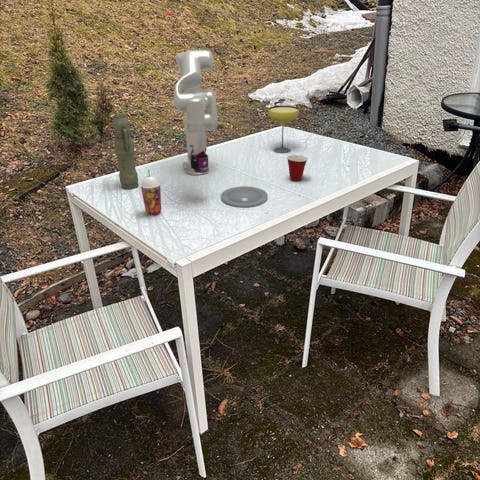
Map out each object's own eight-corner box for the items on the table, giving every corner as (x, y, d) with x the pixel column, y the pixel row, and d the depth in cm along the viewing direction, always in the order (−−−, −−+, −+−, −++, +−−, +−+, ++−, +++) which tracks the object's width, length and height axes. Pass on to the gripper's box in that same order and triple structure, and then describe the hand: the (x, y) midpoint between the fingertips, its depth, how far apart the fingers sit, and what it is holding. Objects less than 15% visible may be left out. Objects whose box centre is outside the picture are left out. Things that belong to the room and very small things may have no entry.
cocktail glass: (265, 146, 276) (266, 106, 264) (293, 145, 278) (295, 105, 265) (270, 155, 260) (271, 113, 248) (299, 154, 262) (302, 112, 250)
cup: (198, 174, 196) (197, 159, 192) (187, 167, 202) (186, 153, 199) (211, 170, 199) (210, 156, 195) (200, 164, 206) (199, 150, 202)
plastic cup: (310, 178, 228) (312, 156, 222) (298, 184, 221) (299, 162, 215) (294, 173, 234) (295, 152, 228) (281, 179, 227) (282, 157, 221)
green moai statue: (132, 180, 228) (123, 112, 211) (143, 187, 220) (134, 117, 203) (116, 184, 224) (105, 115, 206) (126, 191, 215) (116, 120, 198)
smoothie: (145, 209, 198) (139, 167, 188) (163, 208, 198) (159, 166, 189) (143, 217, 191) (137, 174, 181) (162, 216, 191) (157, 173, 181)
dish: (212, 202, 203) (212, 200, 203) (233, 185, 221) (233, 183, 220) (256, 210, 195) (256, 208, 194) (274, 192, 212) (274, 190, 212)
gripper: (198, 121, 198) (200, 158, 207) (178, 131, 184) (181, 171, 194) (213, 122, 195) (214, 161, 204) (193, 133, 182) (196, 173, 191)
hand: (198, 165), depth 199 cm, fingers closed on cup, 6 cm apart
